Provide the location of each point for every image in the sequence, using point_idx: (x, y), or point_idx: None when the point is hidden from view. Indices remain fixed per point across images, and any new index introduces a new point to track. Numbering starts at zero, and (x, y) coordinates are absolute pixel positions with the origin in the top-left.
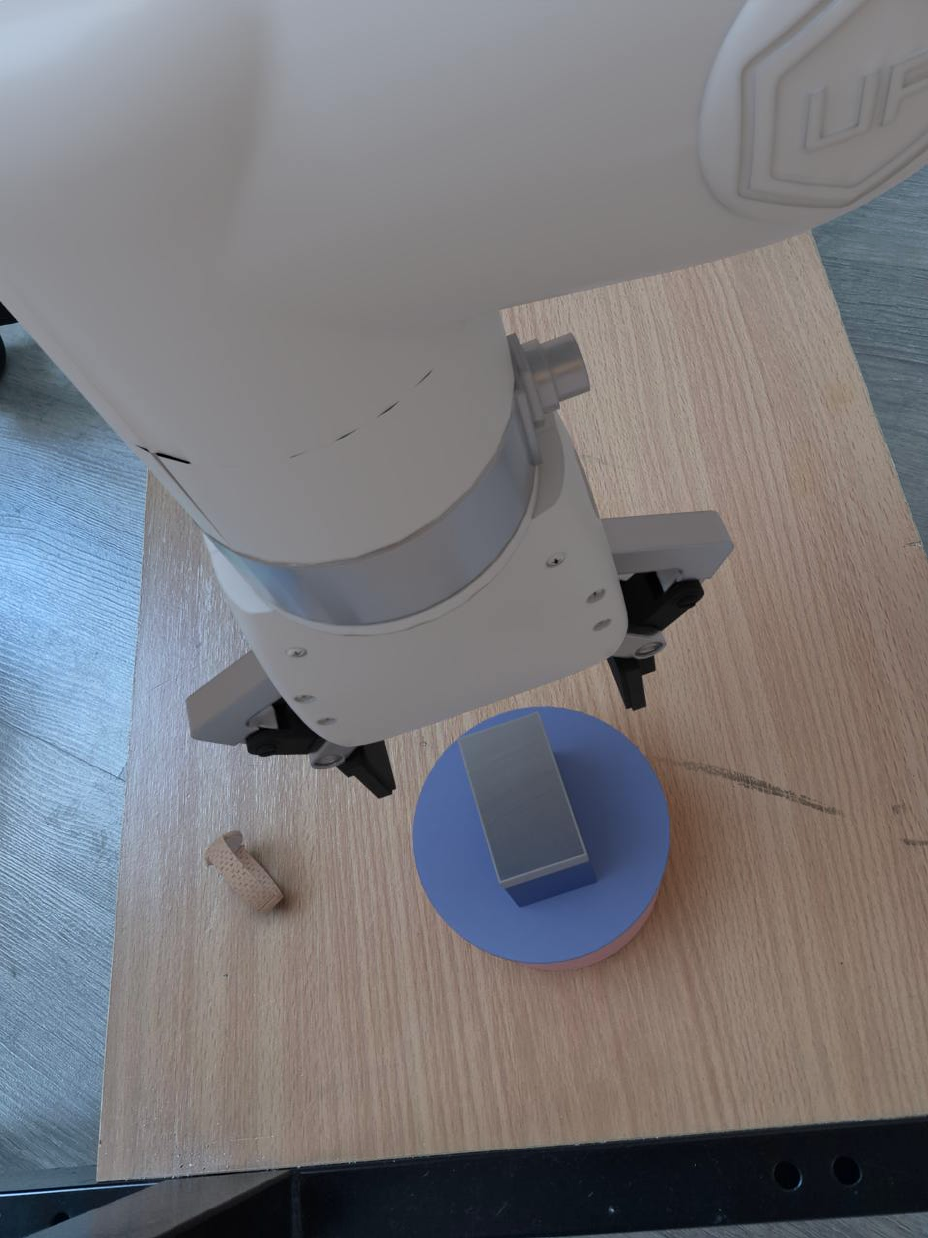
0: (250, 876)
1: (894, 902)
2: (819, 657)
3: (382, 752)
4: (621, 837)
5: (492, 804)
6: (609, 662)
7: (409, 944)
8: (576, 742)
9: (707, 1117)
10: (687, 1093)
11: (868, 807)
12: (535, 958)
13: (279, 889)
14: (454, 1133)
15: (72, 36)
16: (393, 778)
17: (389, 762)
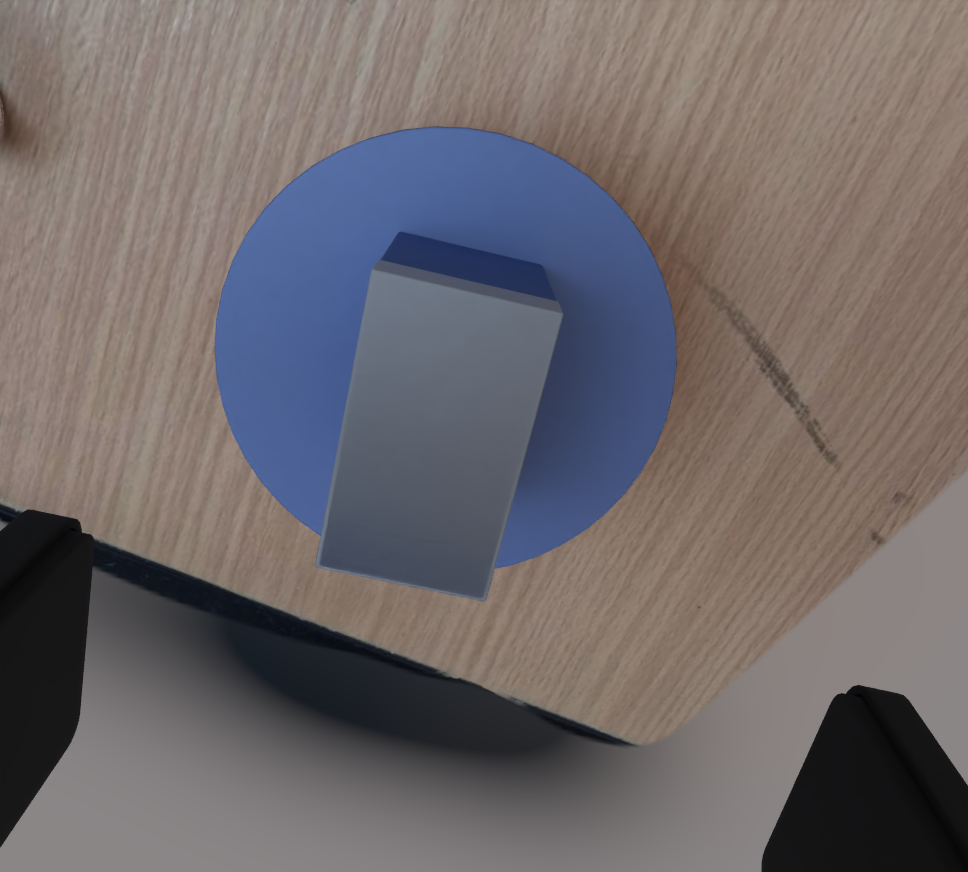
0: None
1: (803, 584)
2: None
3: (49, 693)
4: (558, 456)
5: (373, 437)
6: (827, 820)
7: (191, 307)
8: (591, 272)
9: (455, 661)
10: (449, 633)
11: (872, 478)
12: None
13: (3, 111)
14: (162, 544)
15: None
16: (76, 707)
17: (80, 663)
